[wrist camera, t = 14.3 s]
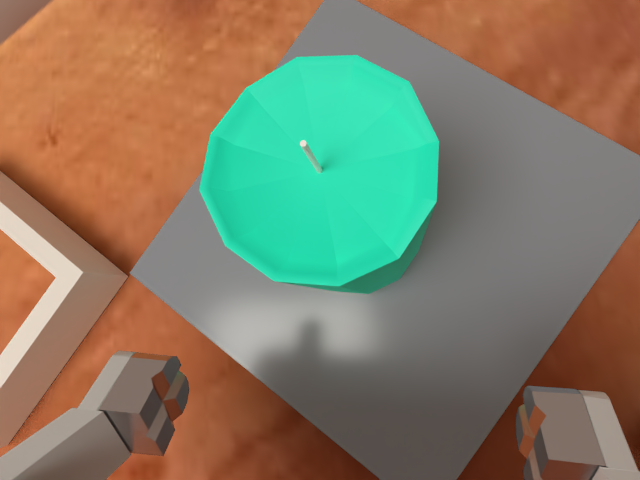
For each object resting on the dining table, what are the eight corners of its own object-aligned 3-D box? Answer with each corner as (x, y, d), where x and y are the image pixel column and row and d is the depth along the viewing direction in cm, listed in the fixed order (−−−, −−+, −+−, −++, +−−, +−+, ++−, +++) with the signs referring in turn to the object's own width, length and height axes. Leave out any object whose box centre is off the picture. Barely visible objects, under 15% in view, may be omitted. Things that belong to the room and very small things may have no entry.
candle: (305, 305, 21) (189, 310, 9) (285, 184, 22) (156, 52, 10) (434, 281, 20) (482, 254, 9) (406, 156, 21) (415, -22, 10)
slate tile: (335, 0, 24) (333, -13, 23) (658, 179, 20) (671, 173, 19) (140, 274, 24) (129, 273, 23) (427, 508, 20) (428, 519, 19)
